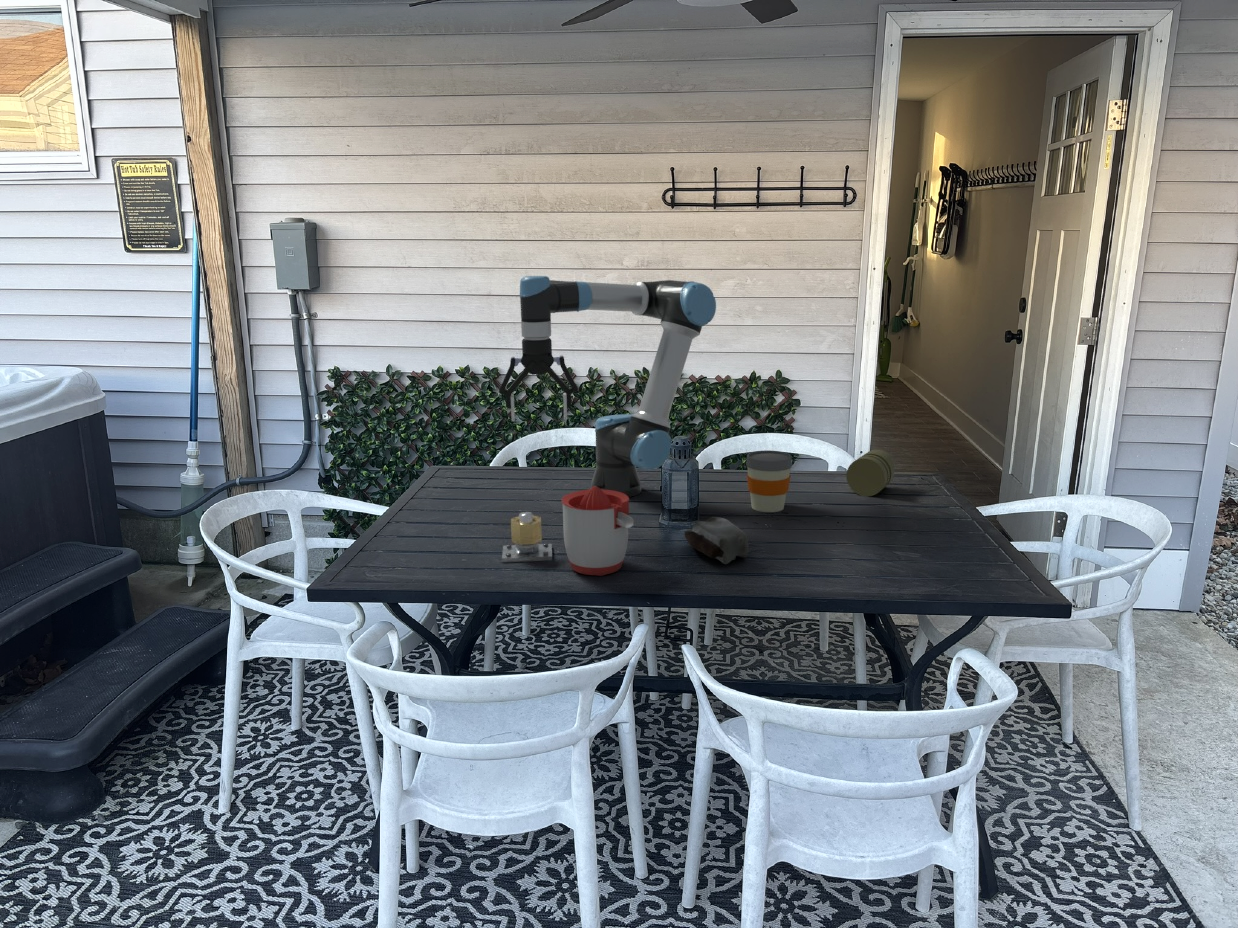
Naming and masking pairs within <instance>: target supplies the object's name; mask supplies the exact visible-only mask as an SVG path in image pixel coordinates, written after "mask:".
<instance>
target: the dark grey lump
mask: <svg viewBox="0 0 1238 928" xmlns="http://www.w3.org/2000/svg"><path fill="white" fill-rule="evenodd" d="M693 525H694V526H693V527H692V528H690V529H687V530H685V531H684V537H685V539H686V541H687V543H688V544H689V545H690V546H691V547H692V549H693V550H697V551H698V552H700V553H702V554H703V555H705V556H706V557H709V558H710V559H716V560H718V561H719V562H721V563H722V564H724V565H728V564H730V562H731V561H733V560H736V559H737V558H736V557H740V558H747V557H748V555H749V540H748V537H747V534H746V533H745V531H743V530H741V528H739V527H738V526H737V525H735V523H732V522H731V521H730V520H728V519H726V518H723V517H720V516H719V517H718V516H712V517H710V518H709V519H708V520H706V521H705V520H704V521H702V520H698V521H696V522H695V523H694V524H693Z"/></svg>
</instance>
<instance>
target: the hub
mask: <svg viewBox="0 0 1238 928" xmlns="http://www.w3.org/2000/svg"><path fill="white" fill-rule="evenodd" d="M532 515H533V522H531V523H520V522H519V515H518V516H515V517H512V518H510V531H511V532H510V533H511V534H510V535H511V543H514V544H515V543H516V544H520V545H525V544H535V543H537V542H538V543H539V542H543V541H542V539H543V538H542V537H543V536H542V517H541V516H537V515H534V514H532Z"/></svg>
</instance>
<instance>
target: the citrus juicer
mask: <svg viewBox="0 0 1238 928" xmlns="http://www.w3.org/2000/svg"><path fill="white" fill-rule="evenodd" d="M561 504H562V524H563V527H562V528H563V530H562V531H563V541H564V547H565V552H566V555H567V558H568V563H569V564H570V566H571V568H572V570H573V571H574V572H576V573H578V574H582V575H587V576H597V577H603V576H605V575H608V574H613V573H615V572H618V571H619V570H620V569H621V567H622V565H623V564H624V561H625V557H626V553H627V547H628V542H629V529H631V528H632V527H634V524H635V521H634V518H633V517H632V516H630V497H628V496H627V495H626V494H624V493H621V492H618V491H612V490H602V489H599V488H598V487H597V486H593V487H592V488H591V487H590V489H583V490H578V491H572V492H570V493H567V494H565V495H564V496H563V497H562V498H561Z"/></svg>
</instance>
